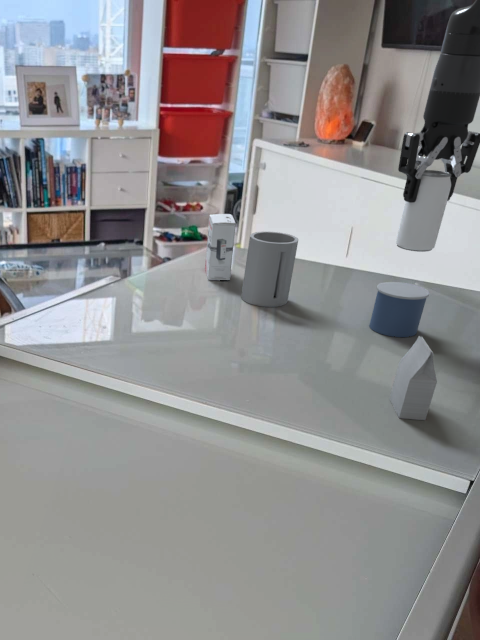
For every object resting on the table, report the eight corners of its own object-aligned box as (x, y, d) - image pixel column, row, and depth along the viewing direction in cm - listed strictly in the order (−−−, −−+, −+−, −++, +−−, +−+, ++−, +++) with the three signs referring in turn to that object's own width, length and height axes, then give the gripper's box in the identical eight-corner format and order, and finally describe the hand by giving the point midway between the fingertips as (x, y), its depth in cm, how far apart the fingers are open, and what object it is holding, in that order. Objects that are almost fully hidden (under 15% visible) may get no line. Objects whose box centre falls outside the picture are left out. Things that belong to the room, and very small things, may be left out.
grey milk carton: (398, 418, 109) (417, 352, 103) (389, 398, 114) (406, 334, 109) (425, 420, 109) (445, 354, 103) (414, 400, 114) (433, 336, 109)
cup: (259, 289, 157) (269, 229, 151) (296, 300, 152) (307, 239, 145) (232, 297, 152) (240, 235, 145) (268, 309, 147) (279, 246, 140)
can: (388, 242, 134) (406, 169, 128) (423, 242, 135) (442, 169, 128) (404, 252, 129) (424, 176, 122) (440, 252, 130) (461, 176, 123)
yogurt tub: (397, 318, 145) (407, 280, 141) (429, 335, 138) (440, 295, 134) (357, 322, 142) (366, 283, 138) (388, 340, 135) (398, 299, 131)
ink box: (203, 268, 168) (209, 212, 162) (225, 269, 168) (233, 213, 162) (206, 280, 161) (213, 222, 154) (230, 281, 161) (238, 223, 154)
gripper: (434, 90, 113) (405, 207, 123) (509, 90, 118) (476, 204, 127) (402, 85, 119) (377, 197, 129) (474, 86, 124) (445, 194, 133)
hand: (426, 200), depth 128 cm, fingers closed on can, 6 cm apart
